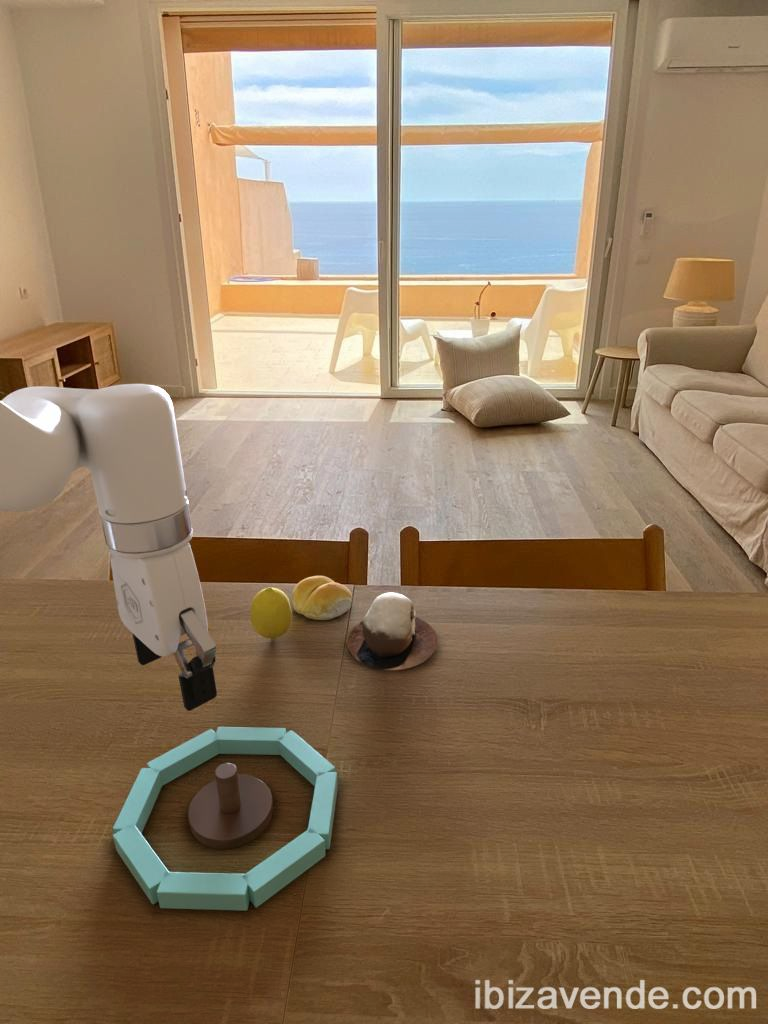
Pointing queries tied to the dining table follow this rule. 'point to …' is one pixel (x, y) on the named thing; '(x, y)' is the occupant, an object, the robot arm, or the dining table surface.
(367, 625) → the iced cupcake on saucer
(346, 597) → the bread roll
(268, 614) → the lemon
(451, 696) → the dining table surface
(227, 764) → the post
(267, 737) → the ring
